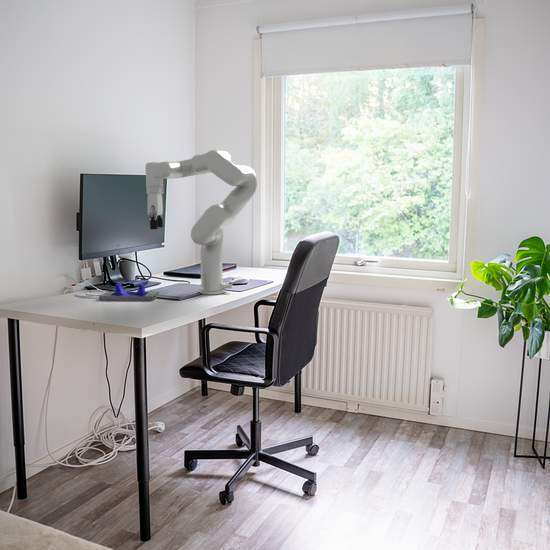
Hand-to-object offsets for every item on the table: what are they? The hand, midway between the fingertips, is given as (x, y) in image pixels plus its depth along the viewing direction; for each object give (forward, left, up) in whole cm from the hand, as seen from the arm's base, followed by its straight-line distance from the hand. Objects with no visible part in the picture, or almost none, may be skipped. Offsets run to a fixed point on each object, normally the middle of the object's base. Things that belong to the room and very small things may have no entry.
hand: (156, 228), depth 291 cm
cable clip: (+7, +21, -29) cm, 36 cm away
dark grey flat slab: (+7, +22, -28) cm, 36 cm away
